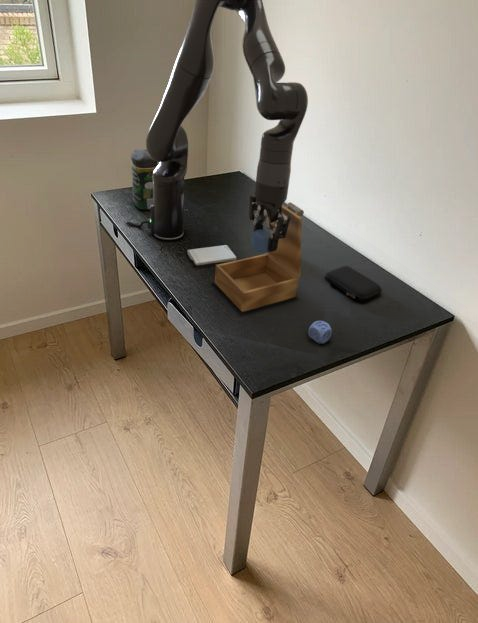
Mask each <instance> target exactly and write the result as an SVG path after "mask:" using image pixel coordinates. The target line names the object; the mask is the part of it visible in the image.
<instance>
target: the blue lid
mask: <svg viewBox="0 0 478 623" xmlns="http://www.w3.org/2000/svg"><path fill="white" fill-rule="evenodd" d="M274 233H275V232H274ZM269 237H270V235H269V230H268V229H266V228H263V229H258V230H255V231H254V230H253V232H252V237H251V238H252V240H251V248H252V249H253V250H254V251H256V252H259V253H264V254H265V253H269V251H268V243H269Z"/></svg>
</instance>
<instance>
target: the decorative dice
mask: <svg viewBox="0 0 478 623" xmlns="http://www.w3.org/2000/svg"><path fill="white" fill-rule="evenodd" d="M307 333H308V337H310V338H311V339H312V340H313V341H315V342H316V343H318V345H323V344H326V343H327V342H328V341H329V340H330V338H331V337H332V333H333V330H332V327H331V325H330V324H329V323H328V322H326V321H325V320H316V321H314V322H312V324H311V325H310V326H309V328H308V331H307Z"/></svg>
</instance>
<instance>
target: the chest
mask: <svg viewBox="0 0 478 623" xmlns="http://www.w3.org/2000/svg"><path fill="white" fill-rule="evenodd" d="M299 282H300V278H297V277H296V276H295V275H294V274H292V273H291V272H290V271H289V270H288V269H287V268H285V267H284V266H283V265H282V264H281V263H279V262H278V261H277V260H276V259H274V258H273V257H272V256H271V255H269V254H265V253H264V254H260V255H255V256H250V257H245V258H241V259H236V260H232V261H226V262H222V263H219V264H218V263H217V264H215V271H214V284H215V285H216V286H217V287H218V288H219V289H220V290H221V291H222V293H224V295H226V297H227V298H228V299H229V300H230V301H231V302H232V303H233V304H234V305H235V306H236V307H237V308H238V310H240V311H241V312H242V313H244V312H247V311H250V310H254V309H258V308H261V307H265V306H268V305H272V304H275V303H279V302H283V301H286V300H290V299H293V298H296V296H297V291H298V286H299Z"/></svg>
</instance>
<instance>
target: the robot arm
mask: <svg viewBox="0 0 478 623" xmlns="http://www.w3.org/2000/svg"><path fill="white" fill-rule="evenodd" d="M219 8H222V9H226V10H230V11H235V12H236V13H237V14H238V16H239V17H240V19H241V20H242V22H243V24H244V32H243V35H242V43H241V44H242V46H241V47H242V53H243V57H244V59H245V63H246V64H247V67H248V69H249V71H250V74H251V76H252V78H253V79H252V80H253V86H254V92H255V105H256V108H257V111H258V113H259V114H260V116H261V117H262V118H263V119H265V120H266V121H278V123H277V124H276V125H275V126H274V127H272V128H269V129H266V130H265V131H264V132H263V133H262V135H261V138H260V139H261V140H260V150H259V158H258V162H257V166H256V167H257V168H256V177H255V187H254V195H250V196H249V212H248V214H249V215H248V218H249V220H250V221H252V225H253V232H254V231H255V230H258V229H264V223H265V227H266V226H267V229H269V235H270V237H269V243H268V251H269V252H273V251H276V250H277V247H278V240H279V239H281V238H285V237H286V233H287V229H288V225H289V222H290V216H289V215H287V216H285V215H284V214H283V213H282V212H283V210H282V205H284V203H285V202H286V201H287V199H288V192H289V185H290V178H291V173H292V157H293V149H294V143H295V141H296V139H297V135H298V133H299V131H300V129H301V126H302V124H303V121H304V119H305V116H306V113H307V110H308V105H309V104H308V103H309V99H308V98H309V97H308V92H307V89H306V87H304V85H303V84H302V83H301V82H297V81H295V82H293V81H292V82H291V81H290V82H280V81H281V80H282V79H283V77H284V76H285V73H286V64H285V61H284V59H283V56H282V55H281V52H280V49H279V48H278V46H277V43H276V40H275V39H274V37H273V34H272V31H271V29H270V26H269V23H268V19H267V15H266V11H265V10H266V9H265V5H264V2H263V0H194V5H193V9H192V12H191V16H190V19H189V23H188V27H187V29H186V33H185V35H184V38H183V41H182V44H181V46H180V49H179V52H178V55H177V57H176V59H175V63H174V66H173V69H172V71H171V74H170V78H169V80H168V84H167V87H166V89H165V92H164V94H163V97H162V101H161V103H160V106H159V108H158V111H157V112H156V115H155V117H154V119H153V121H152V124H151V125H150V127H149V130H148V132H147V134H146V137H145V149H146V150H147V152H148V155H149V156H150V158H151V159H153V160H154V161H157V162H158V166H157V167H156V168H155V170H154V171H153V174H152V180H153V205H152V206H151V210H150V217H149V218H148V219H147V220H143V221H141V222H140V224H137V223H134V222H131V221H129V220H127V221H126V224H127V225H129V226H133V227H136V228H141V227H143V225H144V224H147V229H150V235H151V236H153V237H155V238H156V239H157V240H161V241H167V242H170V241H171V242H172V241H177V240H180V239H181V238H183V236H184V218H185V217H184V216H185V214H184V213H185V210H184V209H185V178H186V175H187V171H188V165H189V163H188V162H189V151H190V150H189V148H190V146H189V144H190V143H189V138H188V134H187V131H186V129H185V128H184V127H183V126H182V124H183V123H184V120H185V119H186V118H187V116H188V115H189V114H190V113H191V112H192V111H193V109H194V108H195V106H196V105H197V104H198V103H199V102H200V100H201V99H202V97H203V96H204V94H205V92H206V91H207V88H208V86H209V84H210V81H211V79H212V76H213V74H214V70H215V55H214V54H215V53H214V47H213V41H212V30H213V29H212V27H213V24H214V20H215V17H216V14H217V12H218V9H219ZM254 211H255V212H254ZM273 222H276V224H273V225H271V223H273ZM273 228H276V231H275V233H274V231H273ZM281 231H282V233H281Z"/></svg>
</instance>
